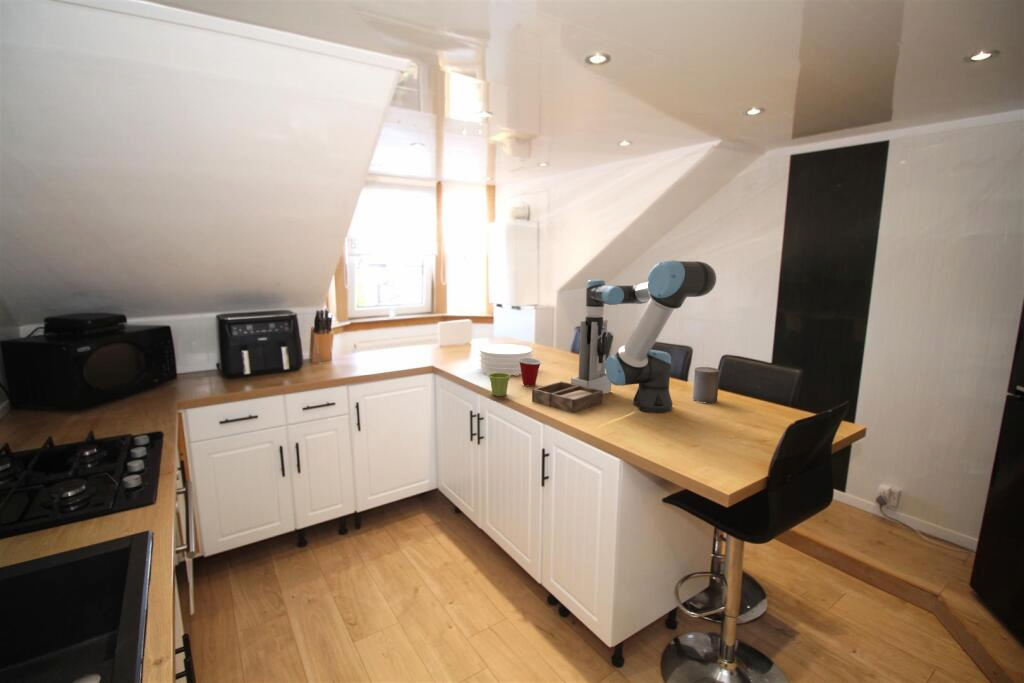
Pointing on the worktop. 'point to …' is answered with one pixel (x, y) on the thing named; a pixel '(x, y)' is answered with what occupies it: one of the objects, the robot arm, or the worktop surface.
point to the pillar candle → (706, 384)
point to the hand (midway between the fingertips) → (592, 368)
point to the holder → (594, 383)
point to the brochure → (590, 352)
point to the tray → (553, 399)
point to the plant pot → (499, 383)
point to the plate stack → (503, 358)
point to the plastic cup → (529, 370)
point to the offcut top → (576, 394)
